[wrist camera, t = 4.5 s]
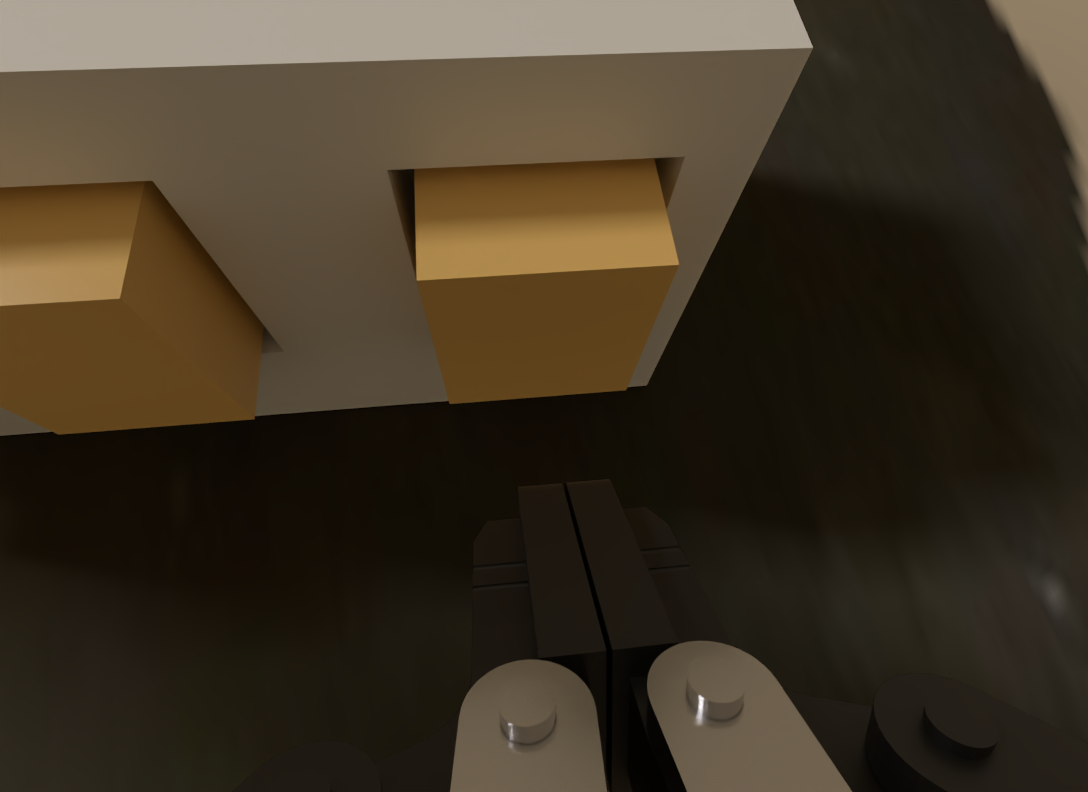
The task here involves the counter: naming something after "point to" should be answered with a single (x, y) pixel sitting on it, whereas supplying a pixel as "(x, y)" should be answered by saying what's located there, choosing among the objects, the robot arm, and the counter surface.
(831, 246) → the counter surface
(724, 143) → the button console
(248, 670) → the counter surface
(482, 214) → the button
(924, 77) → the counter surface
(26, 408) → the middle button
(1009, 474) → the counter surface
